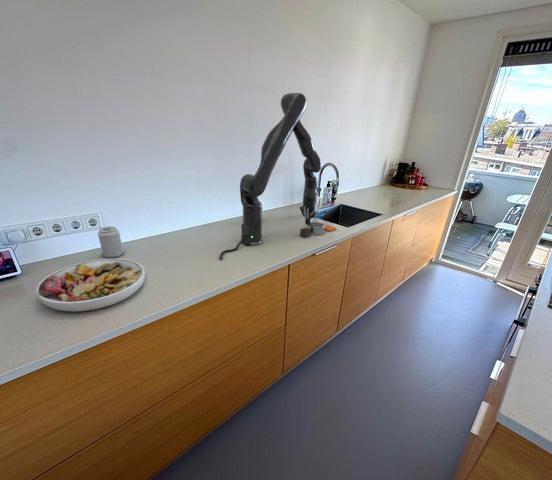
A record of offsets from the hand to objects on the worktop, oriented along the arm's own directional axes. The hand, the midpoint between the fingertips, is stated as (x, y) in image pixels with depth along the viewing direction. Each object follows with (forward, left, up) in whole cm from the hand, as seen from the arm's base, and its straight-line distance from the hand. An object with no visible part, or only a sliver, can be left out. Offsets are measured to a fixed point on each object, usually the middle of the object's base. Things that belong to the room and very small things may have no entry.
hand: (307, 224), depth 169 cm
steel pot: (0, -7, -3) cm, 7 cm away
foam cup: (+22, +17, -3) cm, 28 cm away
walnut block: (-10, -8, -3) cm, 13 cm away
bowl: (-107, -3, -3) cm, 107 cm away
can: (-95, +24, -3) cm, 98 cm away
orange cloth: (+10, -8, -3) cm, 13 cm away
